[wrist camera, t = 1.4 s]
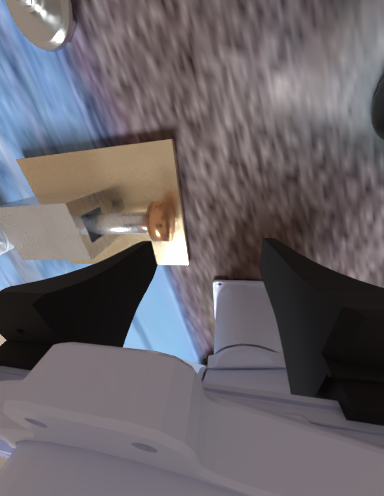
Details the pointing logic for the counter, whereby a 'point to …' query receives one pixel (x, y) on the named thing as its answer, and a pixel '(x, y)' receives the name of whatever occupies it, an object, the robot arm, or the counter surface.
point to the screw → (44, 21)
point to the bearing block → (94, 202)
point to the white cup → (4, 243)
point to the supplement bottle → (378, 111)
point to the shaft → (135, 222)
